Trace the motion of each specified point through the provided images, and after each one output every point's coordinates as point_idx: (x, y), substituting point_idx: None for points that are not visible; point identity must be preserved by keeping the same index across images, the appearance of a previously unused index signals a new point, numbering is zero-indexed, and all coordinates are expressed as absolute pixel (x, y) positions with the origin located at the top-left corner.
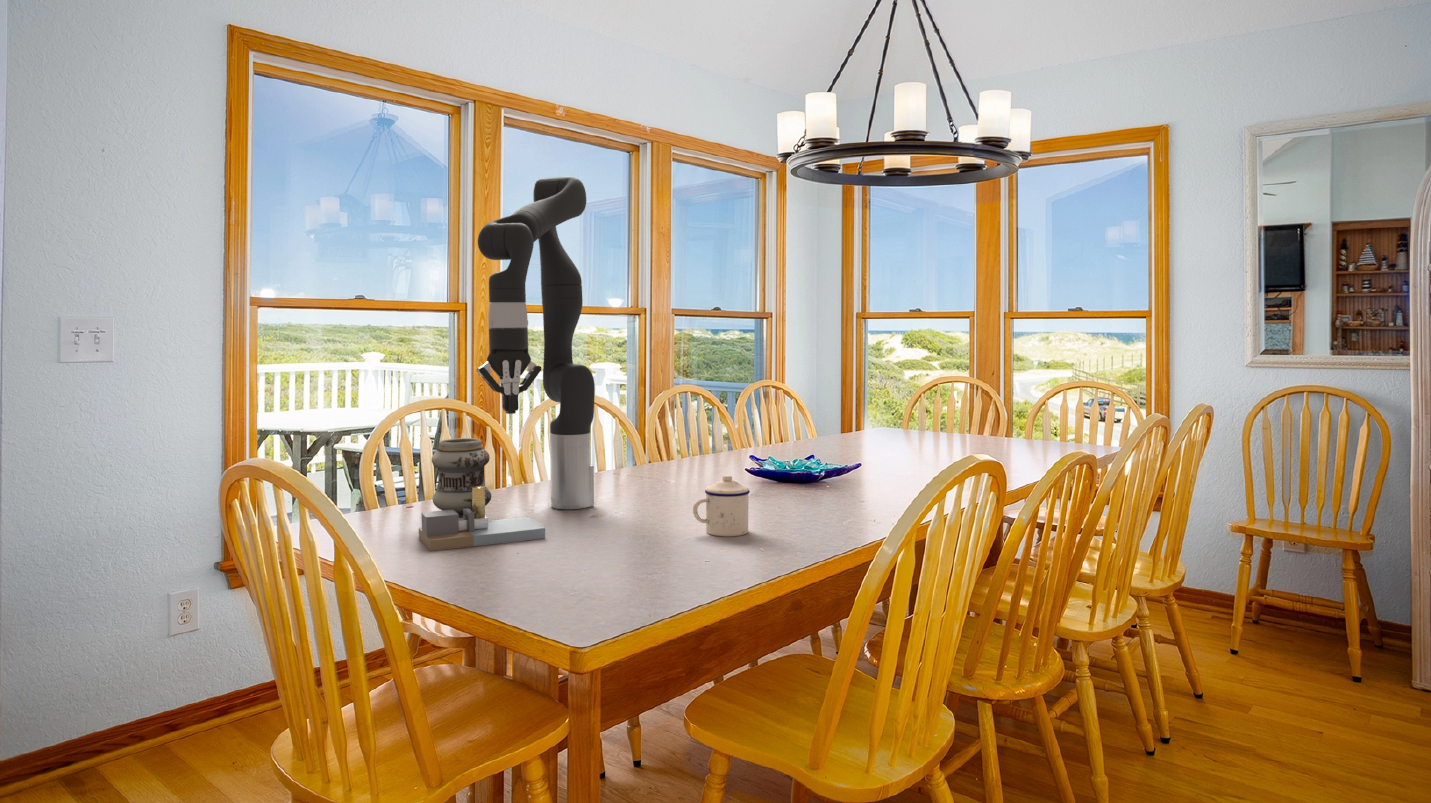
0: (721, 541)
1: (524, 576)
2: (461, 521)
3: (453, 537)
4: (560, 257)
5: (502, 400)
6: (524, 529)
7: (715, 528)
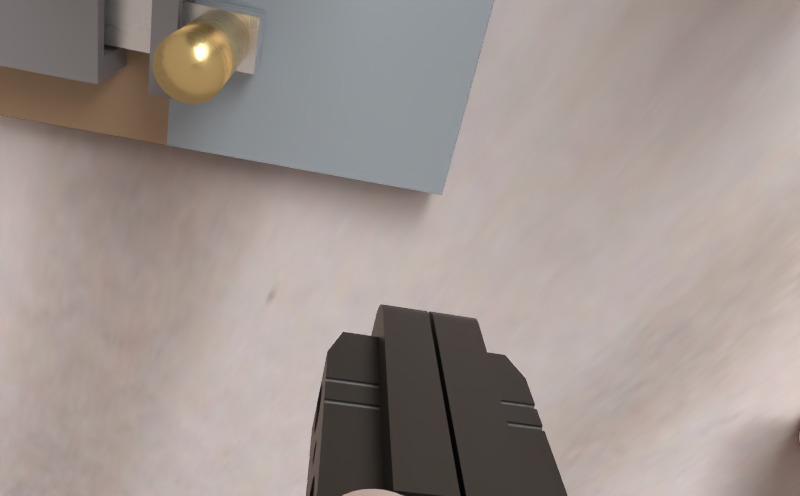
0: (755, 475)
1: (194, 477)
2: (132, 49)
3: (88, 121)
4: None
5: (318, 442)
6: (370, 168)
7: None
